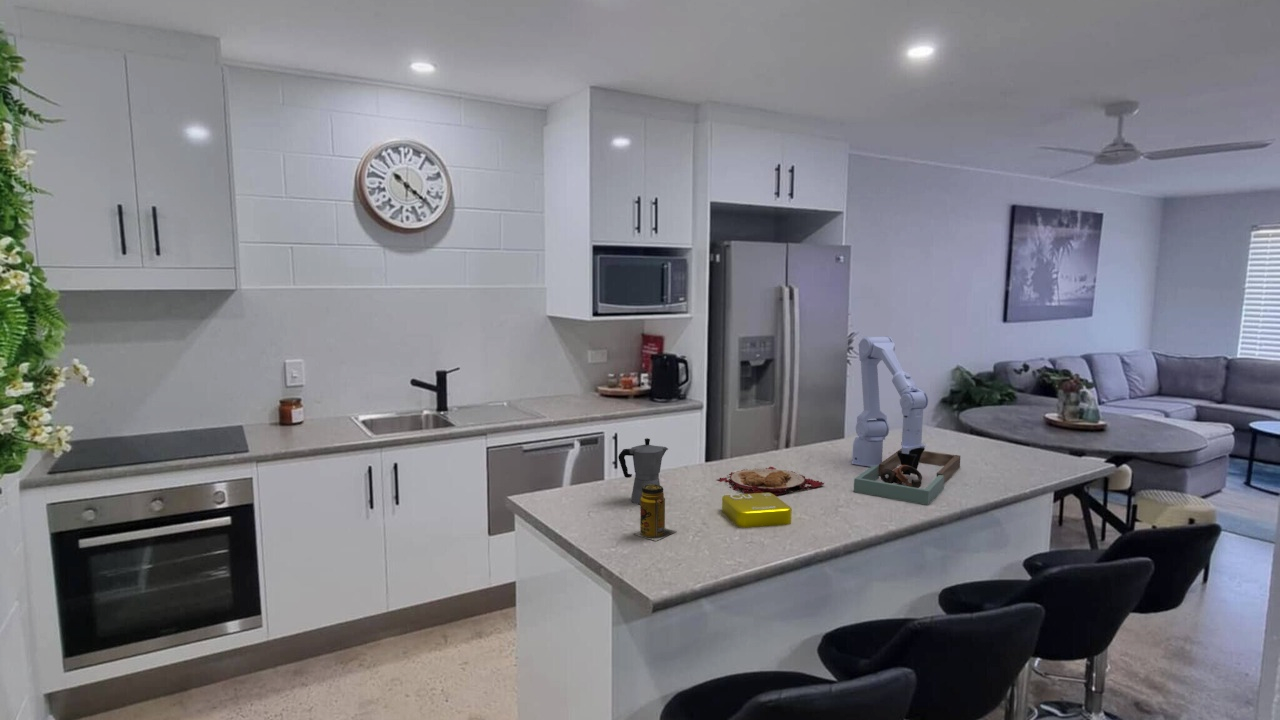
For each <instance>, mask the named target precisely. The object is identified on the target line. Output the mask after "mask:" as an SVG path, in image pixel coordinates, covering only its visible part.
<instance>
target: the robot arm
mask: <svg viewBox="0 0 1280 720" xmlns="http://www.w3.org/2000/svg"><path fill="white" fill-rule="evenodd" d="M895 350H896V344H895V342H894V340H893V339H892V337H891V336H888V335H886V336H864V337H862V338H861V340H860V341H859V343H858V355H859V357H858V358H859V361H860V369H861V370H860V372H861V373H860V374H861V385H862V386H861V387H862V403H863V404H862V405H863V411H862V412H860V413H859V414H858V415H857V416H856V426H855V431H856V435H857V437H855V438H854V439H853V444H852V461H851V465H857V466H863V467H868V468H870V467H872V466H873V465H878V466H879V464H880V463H881V462H883V452H884V451H883V447H884V440H886V437H888V436H889V433H890V426H889V423H888V420H887V419H888V418H887V415H886V414H885V412H882V411H881V403H880V389H879V388H880V387H879V374H878V364H879V363H880V362H881V361H882V363H883V364H884V365H885V367H886V368H887V370H888V371H889V373H890V374H891V375H892V379H891V381H892V384H893V386H894V388H895V389H896V392H897V393H898V395H899V397H900V399H899V405H900V408H901V415H902V416H903V417H902V432H901V433H902V434H901V435H902V436H901V441H900V445H901V448H902V451H898V450H897V451H898V452H897V451H896V452H897V455H898V457H899V459H900V461H901V464H900V466H901V465H908V466H911V467H914V468H915V469H917V470H918V467H919V463H920V462H919V461H920V457H921V455H922V453H923V451H926V444H925V443H922V440H923V423H924V422H923V419H924V410H925V409H926V408H927V407H928V405H929V398H928V396H927V393H926V392H925V391H923V390H921V389H920V388H918V386H917V385H916V383H915V381H914V380H913V378H912V375H911V374H910V373H909V372H907V371H904V370H903V367H902V365H901V362H900V361H899V359H898V357H897V354H896V352H895ZM902 473H903V474H904V475H905V476H911V473H910V471H909V470H908V469H907V470H906V471H904V472H902Z"/></svg>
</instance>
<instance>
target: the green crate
mask: <svg viewBox="0 0 1280 720" xmlns="http://www.w3.org/2000/svg"><path fill="white" fill-rule="evenodd" d="M879 477H880V476H879V466H878V465H873V466H872V467H868V468H867V469H866V470H865V471H863V472H862V473H860V474H859V475H857V476H856V477H854V479H853V492H854V493H859V494H865V495H870V496H876V497H881V498H886V499H890V500H891V499H892V500H896V501H897V500H898V501H903V502H909V503H914V504H919V505H924V506H925V505H926V506H929V505H930V504H931V503H932V502H933V500H934V499H935V498H936V497H937V496H938V495H939V494H940V493H941V492H942V491H943V489H944V487H945V485H944V484H945V483H944V476H942V475H938V476H937V475H936V477H935V478H934V479H933V480H931V482H930V483H929V484H928V485H927V486H925V488H921V487H919V488H915V487H909V486H906V485H903V484H902V485H901V484H897V483H892V484H891V483H885V482H883V481H879V480H877V479H879ZM941 490H942V491H941Z"/></svg>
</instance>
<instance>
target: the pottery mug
mask: <svg viewBox="0 0 1280 720" xmlns="http://www.w3.org/2000/svg"><path fill="white" fill-rule="evenodd" d="M907 469H908V470H909V471H910V473H911V474H912V475H916V476H917V479H911V482H909V477H908V476H907V475H905V474H903V472H904V471H906V470H907ZM886 476H887V477H886ZM879 477H880V479H881V480H882V481H881V482H885V483H891V484H897V485H901V484H902V485H903V484H904V485H905V486H909V487H915V488H921V486H922V480H923V475H922V473H921V472H920V471H919V470H918V468H917V469H915V468H914V467H911V466H908V465H901V464H900V466H899V465H898V467H896V468H894V469H893V470H889V469H883V470H882V471H881V472H880V476H879Z"/></svg>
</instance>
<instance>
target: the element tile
mask: <svg viewBox="0 0 1280 720" xmlns="http://www.w3.org/2000/svg"><path fill="white" fill-rule="evenodd" d="M792 510H793V509H792V507H791V506H790V505H788V504H787V503H786V502H784V501H783V500H782V499H780V498H779V497H778V496H775V495H774V494H772V493H752V494H746V493H740V494H737V493H733V494H725V495H723V496H722V498H721V512H722V513H723V514H724V515H725V516H726V517H727V518H728V519H729V520H730V521H731V522H732V523H733V524H734V525H735V526H737V527H739V528H745V529H748V528H760V527H772V526H788V525H790V524H792V512H793V511H792Z"/></svg>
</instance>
